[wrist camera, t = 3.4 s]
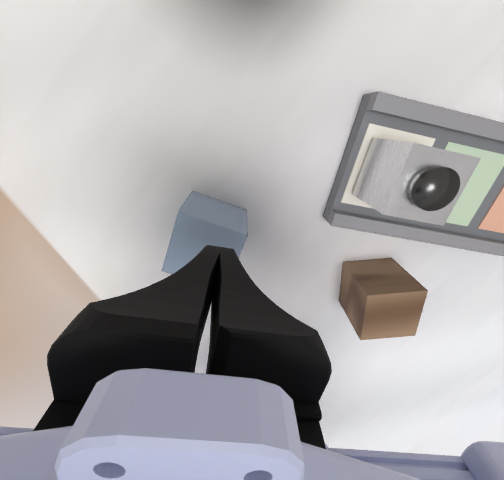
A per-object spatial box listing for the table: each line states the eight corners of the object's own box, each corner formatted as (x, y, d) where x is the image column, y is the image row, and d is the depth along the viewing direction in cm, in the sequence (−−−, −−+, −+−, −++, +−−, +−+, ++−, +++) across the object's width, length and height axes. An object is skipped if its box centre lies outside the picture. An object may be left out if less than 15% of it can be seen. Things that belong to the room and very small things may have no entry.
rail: (507, 249, 23) (531, 261, 21) (322, 216, 21) (331, 225, 19) (579, 148, 20) (615, 151, 18) (363, 94, 17) (378, 91, 16)
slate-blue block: (228, 255, 22) (224, 289, 18) (178, 239, 22) (161, 270, 17) (246, 210, 21) (247, 235, 16) (192, 190, 20) (178, 211, 15)
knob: (400, 203, 19) (450, 229, 15) (351, 194, 19) (387, 217, 14) (425, 149, 18) (491, 159, 13) (373, 137, 17) (421, 143, 13)
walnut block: (383, 296, 25) (415, 335, 21) (338, 300, 25) (360, 340, 21) (391, 257, 23) (427, 290, 19) (342, 261, 23) (367, 295, 19)
